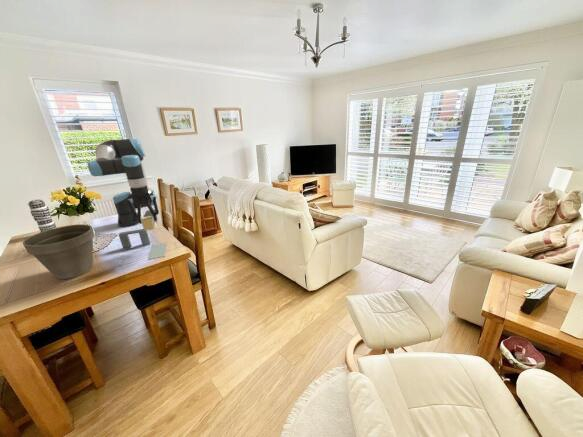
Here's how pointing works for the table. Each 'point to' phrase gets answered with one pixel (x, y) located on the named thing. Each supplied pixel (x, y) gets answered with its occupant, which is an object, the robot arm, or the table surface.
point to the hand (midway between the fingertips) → (150, 227)
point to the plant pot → (64, 250)
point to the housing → (142, 232)
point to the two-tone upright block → (148, 221)
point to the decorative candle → (41, 215)
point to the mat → (158, 251)
